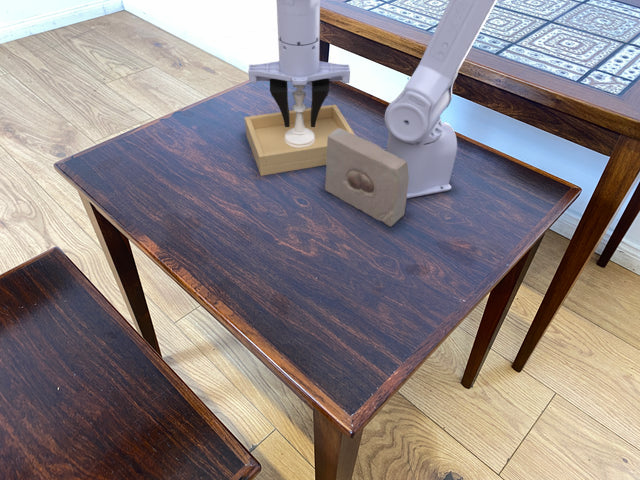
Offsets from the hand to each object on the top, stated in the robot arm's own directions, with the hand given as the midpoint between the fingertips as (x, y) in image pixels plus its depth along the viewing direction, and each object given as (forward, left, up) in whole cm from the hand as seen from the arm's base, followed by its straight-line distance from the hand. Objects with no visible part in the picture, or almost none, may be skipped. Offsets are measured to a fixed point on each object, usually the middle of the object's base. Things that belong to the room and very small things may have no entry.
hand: (300, 123), depth 78 cm
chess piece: (0, 0, -3) cm, 3 cm away
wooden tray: (0, 0, -4) cm, 4 cm away
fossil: (-5, +16, -5) cm, 17 cm away
